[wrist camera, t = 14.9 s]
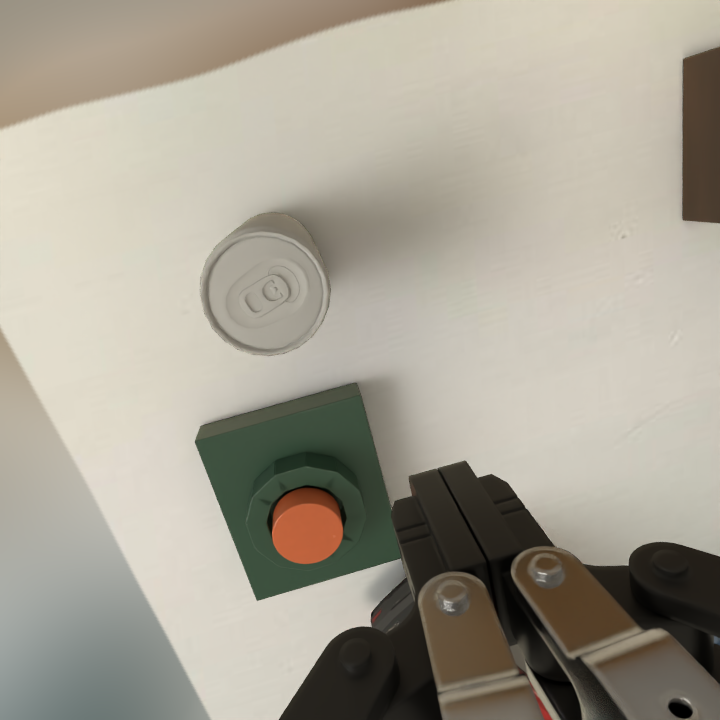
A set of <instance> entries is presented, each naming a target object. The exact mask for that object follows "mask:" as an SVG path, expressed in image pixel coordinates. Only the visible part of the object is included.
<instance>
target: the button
mask: <svg viewBox="0 0 720 720" xmlns="http://www.w3.org/2000/svg"><path fill="white" fill-rule="evenodd" d="M342 537H343V524H342V518H341V512H340V508H339V505H338V503H337V501H336V500H335V499H334V498H333V497H332V496H331V495H330V494H329V493H327V492H325V491H323V490H321V489H317V488H300V489H296V490H293V491H291V492H289V493H288V494H286V495H285V496H284V497H283V498H282V499H281V500H280V501H279V502H278V503H277V505H276V507H275V509H274V513H273V525H272V540H273V544H274V546H275V548H276V549H277V551H278V552H279V553H280V554H281V555H282V556H283V557H284V558H286V559H288V560H290V561H292V562H295V563H300V564H311V563H316V562H319V561H322V560H324V559H326V558H328V557H329V556H330V555H332V554H333V553H334V552H335V551H336V550H337V548H338V547H339V545H340V543H341V541H342Z"/></svg>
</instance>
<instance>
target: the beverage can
mask: <svg viewBox="0 0 720 720" xmlns="http://www.w3.org/2000/svg"><path fill="white" fill-rule="evenodd" d="M330 293H331V288H330V281H329V275H328V271H327V269H326V267H325V265H324V262H323V260H322V258H321V256H320V254H319V252H318V250H317V247H316V245H315V243H314V241H313V239H312V237H311V235H310V234H309V232H308V231H307V230H306V229H305V227H304V226H303V225H302V224H301V223H299V222H298V221H297V220H295V219H294V218H292V217H289V216H287V215H284V214H280V213H272V212H270V213H264V214H259V215H256V216H254V217H252V218H250V219H248V220H247V221H246V222H245V223H244V224H242V225H241V226H240V227H238V228H237V229H236V230H234V231H233V232H232V233H231V234H229V235H228V236H227V237H226V238H225V239H223V240H222V241H221V242H220V243H219V244H218V245H216V246H215V248H214V249H213V251H212V252H211V254H210V255H209V257H208V258H207V260H206V262H205V265H204V268H203V271H202V274H201V280H200V297H201V301H202V305H203V310H204V314H205V316H206V318H207V319H208V321H209V323H210V325H211V327H212V329H213V330H214V331H215V332H216V333H217V334H218V335H219V336H220V337H221V338H222V339H223V340H224V341H225V342H227V343H228V344H230V345H231V346H233V347H235V348H236V349H238V350H241V351H244V352H247V353H250V354H253V355H263V356H272V355H278V354H284V353H287V352H289V351H291V350H294V349H296V348H298V347H300V346H301V345H303V344H304V343H305V342H306V341H307V340H309V339H310V338H311V337H312V336H313V335H314V333H315V332H316V331H317V329H318V328H319V327H320V325H321V324H322V322H323V320H324V318H325V315H326V313H327V310H328V308H329V302H330Z"/></svg>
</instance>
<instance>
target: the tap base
mask: <svg viewBox="0 0 720 720" xmlns="http://www.w3.org/2000/svg"><path fill="white" fill-rule="evenodd" d="M683 220H685V221H697V222H710V223H720V47H718V48H714V49H711V50H708V51H705V52H702V53H699V54H696V55H693V56H690V57H687V58H685V59H684V60H683Z"/></svg>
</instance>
